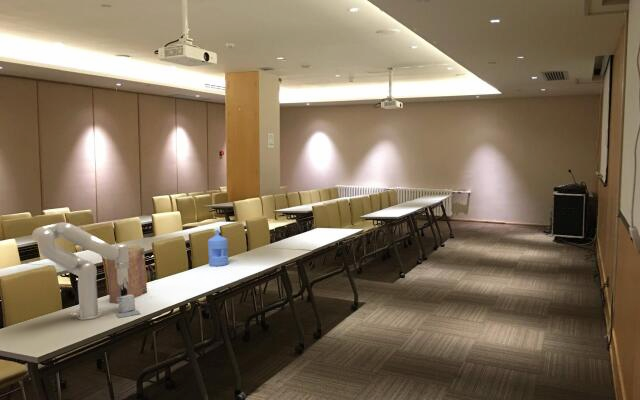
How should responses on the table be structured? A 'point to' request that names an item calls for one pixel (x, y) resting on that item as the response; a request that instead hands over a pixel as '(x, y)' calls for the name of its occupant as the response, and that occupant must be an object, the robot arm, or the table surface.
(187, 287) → the table surface
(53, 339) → the table surface
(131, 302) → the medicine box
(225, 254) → the water jug
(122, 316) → the slate mat
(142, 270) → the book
